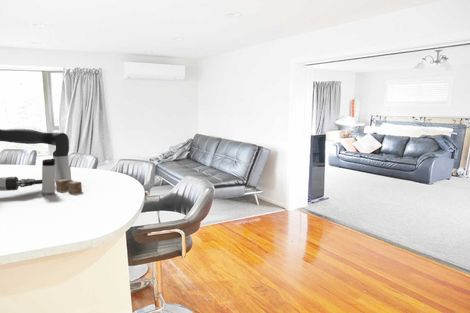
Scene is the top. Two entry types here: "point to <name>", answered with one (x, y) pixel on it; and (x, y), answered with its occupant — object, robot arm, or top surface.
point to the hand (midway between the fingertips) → (42, 181)
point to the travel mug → (48, 176)
